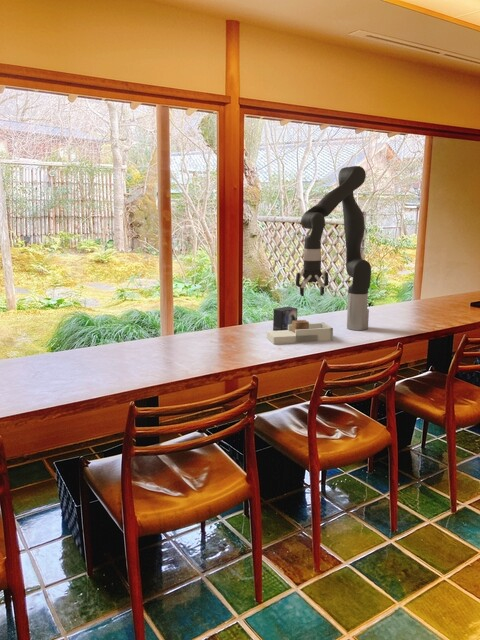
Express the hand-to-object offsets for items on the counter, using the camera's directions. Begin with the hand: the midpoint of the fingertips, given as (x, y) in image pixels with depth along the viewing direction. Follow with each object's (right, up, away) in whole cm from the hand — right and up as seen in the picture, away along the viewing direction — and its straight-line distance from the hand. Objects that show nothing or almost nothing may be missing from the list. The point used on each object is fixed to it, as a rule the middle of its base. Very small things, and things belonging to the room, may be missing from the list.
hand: (311, 295), depth 237 cm
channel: (-6, -19, +1) cm, 20 cm away
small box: (-10, -16, +19) cm, 27 cm away
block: (-5, -16, +1) cm, 17 cm away
